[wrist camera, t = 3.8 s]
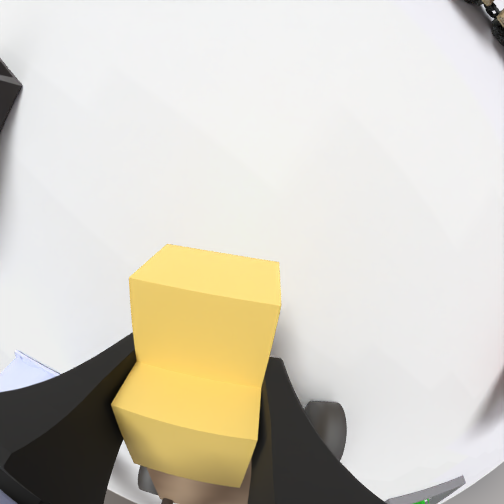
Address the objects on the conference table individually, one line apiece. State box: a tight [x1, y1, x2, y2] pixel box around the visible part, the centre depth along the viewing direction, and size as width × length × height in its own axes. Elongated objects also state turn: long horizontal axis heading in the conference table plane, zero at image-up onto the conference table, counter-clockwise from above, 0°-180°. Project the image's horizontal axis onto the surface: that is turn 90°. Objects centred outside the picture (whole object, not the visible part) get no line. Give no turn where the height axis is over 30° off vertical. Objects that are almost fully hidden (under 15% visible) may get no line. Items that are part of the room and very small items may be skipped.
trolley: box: [138, 401, 347, 504], centre depth 15 cm, size 16×20×15 cm
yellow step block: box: [111, 244, 281, 488], centre depth 8 cm, size 4×7×5 cm, turn 172°
